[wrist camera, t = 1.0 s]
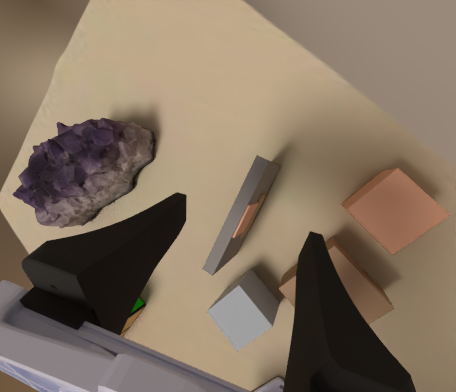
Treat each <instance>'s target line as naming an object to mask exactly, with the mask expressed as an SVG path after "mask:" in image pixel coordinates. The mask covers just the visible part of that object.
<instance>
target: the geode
mask: <svg viewBox="0 0 456 392" xmlns="http://www.w3.org/2000/svg"><path fill="white" fill-rule="evenodd" d="M57 128H58V136H56V137H54V138H52V139H48V141H46V142H44V143H41V144H40V145H39V146H33V150H34V153H33V154H32V155H31V156H30V159H29V163H28V167H27V168H26V169H25V170H24V171H23V172H22V173H21V174H20V175H19V176H18V177H19V179H20V181H21V183H22V185H21V186H20V187H19V188H18V189H17V190H16V192H14V193H13V194H12V195H13V196H15V197H16V198H18V199H22V200H23V201H24V203H26V204H29V205H30V206H32V207H34V208H35V214H36V219H37V221H38V222H39V223H40V224H42V225H45V226H59V227H60V228H63V227H71V226H76V225H81V226H83V225H85V224H86V223H87V222H89V221H90V220H91V219H92V218H93V216H94V215H95V214H96V213H97V211H98V210H99V209H100V208H101V207H105V206H107V205H110V204H111V203H112V202H113V201H115V200H117V199H118V198H119V197H121V196H124V195H126V194H127V193H129V192H130V191H131V190H132V188H133V182H134V181H133V178H134V177H135V175H136V174H137V173H138V171H139V170H140V169H141V168H142V167H144V166H146V165H147V164H149V163H150V162H152V161H153V160H154V148H155V142H156V140H155V139H154V133H153V132H152V131H151V130H148V129H146V128H142V127H141V126H140V125H136V124H135V123H134V122H132V123H130V124H126V123H122V122H121V121H113V120H110V119H105V118H101V119H100V120H93V119H90V120H87V121H85V122H83V123H81V124H74V125H73V126H70V127H69V126H66V125H64V124H63V123H60V122H58V123H57Z"/></svg>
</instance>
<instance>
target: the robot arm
mask: <svg viewBox="0 0 456 392" xmlns="http://www.w3.org/2000/svg"><path fill="white" fill-rule="evenodd" d="M185 222H186V195H184V194H181V193H178V192H177V193H175V194H173V195H171V196H169V197H168V198H166V199H164V200H163V201H161V202H159V203H157V204H156V205H154V206H152V207H150V208H148V209H146V210H144V211H142V212H140V213H138V214H136V215H134V216H132V217H130V218H128V219H125V220H123V221H121V222H118V223H115V224H113V225H110V226H107V227H104V228H101V229H98V230H94V231H91V232H87V233H84V234H79V235H75V236H71V237H66V238H61V239H55V240H50V241H46V242H45V243H44V244H42V245H41V246H40V247H39V248H37V249H36V250H35V251H34V252H32V253H31V254H30V255H28V256H27V257H26V258H25V259H23V261H22V267H23V270H24V271H25V273H26V274H27V276H28V277H29V279H30V280H31V282H32V283H33V285H34V288H32V289H31V290H30V291H27V290H26V289H25V288H23V287H21V286H18V285H16V284H14V283H12V282H9V281H7V280H3V281H1V282H0V370H1V371H3V372H5V373H7V374H9V375H11V376H13V377H14V378H16V379H18V380H20V381H22V382H23V383H25V384H27V385H29V386H31V387H33V388H34V389H36V390H38V391H40V392H251V391H248V390H246V389H244V388H241V387H239V386H237V385H234V384H232V383H230V382H227V381H225V380H223V379H220V378H218V377H216V376H213V375H211V374H209V373H206V372H204V371H202V370H199V369H197V368H194V367H192V366H190V365H187V364H185V363H183V362H180V361H178V360H176V359H173V358H171V357H169V356H166V355H164V354H162V353H159V352H157V351H155V350H152V349H150V348H148V347H145V346H143V345H140V344H138V343H136V342H133V341H131V340H129V339H126V338H124V337H122V336H120V335H121V333H122V330H123V328H124V326H125V324H126V322H127V320H128V318H129V316H130V314H131V312H132V310H133V308H134V306H135V304H136V302H137V300H138V298H139V296H140V294H141V292H142V291H143V289H144V287H145V285H146V283H147V281H148V280H149V278H150V276H151V274H152V273H153V271H154V269H155V268H156V266H157V265H158V263H159V262H160V260H161V259H162V257H163V256H164V255H165V253H166V252H167V250H168V249H169V248H170V246H171V245H172V243H173V242H174V241H175V239H176V238H177V236H178V235H179V233H180V231H181V229H182V228H183V226H184V224H185ZM280 385H282V386H283V387H281V386H280ZM254 392H416V390H415V387H414V384H413V381H412V378H411V375H410V374H409V373H408V372H407V371H406V370H405V368H404V367H403V366H402V365H401V364H400V363H399V362H398V361H397V359H396V358H395V357H394V356H393V355H392V354H391V353H390V352H389V350H388V349H387V348H386V347H385V345H384V344H383V343H382V342H381V341H380V339H379V338H378V337H377V336H376V334H375V333H374V332H373V330H372V329H371V328H370V326H369V325H368V323H367V322H366V321H365V319H364V318H363V316H362V315H361V314H360V312H359V310H358V309H357V307H356V306H355V304H354V303H353V301H352V299H351V298H350V296H349V294H348V292H347V291H346V289H345V287H344V285H343V283H342V281H341V279H340V277H339V275H338V273H337V271H336V269H335V266H334V264H333V262H332V259H331V257H330V255H329V252H328V249H327V247H326V244H325V241H324V238H323V236H322V235H321V234H318V233H314V232H311V231H310V233H309V235H308V237H307V239H306V241H305V244H304V246H303V248H302V250H301V252H300V255H299V258H298V264H297V271H296V289H295V314H294V324H293V331H292V339H291V345H290V352H289V358H288V365H287V371H286V377H285V382H284V381H283V380H282V379H281V378H280V377H276V378H275V379H273V380H271V381H270V382H268V383H267V384H265V385H263V386H262V387H260V388H258V389H257V390H255V391H254Z"/></svg>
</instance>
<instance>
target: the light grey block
mask: <svg viewBox="0 0 456 392" xmlns="http://www.w3.org/2000/svg"><path fill="white" fill-rule="evenodd" d="M279 304H280V302H279V301H278V300H277V299H276V298H275V296H274V295H273V294H272V293H271V292H270V290H269V289H268V288H267V287H266V286H265V284H264V283H263V282H262V281H261V280H260V278H259V277H258V276H257V275H256V274H255V273H254V271H253V270H252V269H250V270H249V271H248V272H247V273H246V274H244V275H243V276H242V277H241V278H240V279H238V280H237V281H236V282H235V283H234V284H232V285H231V286H230V287H229V288H228V289H226V290H225V291H224V292H223V293H222V294H221V295H220V297H219V298H218V299H217V300H216V301H215V302H214V304H213V305H212V306H211V307H210V308H209V309H208V311H207V312H208V314H209V315H210V316H211V318H212V319H213V320H214V321H215V323H216V324H217V325H218V327H219V328H220V329H221V331H222V332H223V333H224V335H225V336H226V337H227V339H228V340H229V341H230V343H231V344H232V345H233V347H234V348H235V349H236V350H237V351H239V350H240V349H242V348H243V347H244V346H246V345H247V344H249V343H250V342H251V341H253V340H254V339H256V338H257V337H259V336H260V335H261V334H263V333H264V332H266V331H267V330H268V329H270V328H271V327H273V324H274V320H275V317H276V314H277V311H278V307H279Z"/></svg>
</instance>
